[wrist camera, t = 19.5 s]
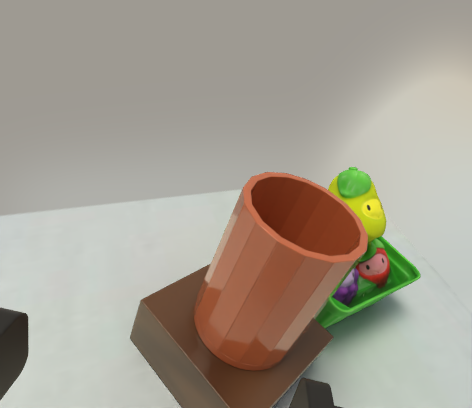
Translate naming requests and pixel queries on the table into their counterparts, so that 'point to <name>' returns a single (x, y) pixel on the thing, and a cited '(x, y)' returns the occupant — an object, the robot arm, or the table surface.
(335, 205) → the cup
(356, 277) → the fruit basket
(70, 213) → the table surface
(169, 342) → the block
